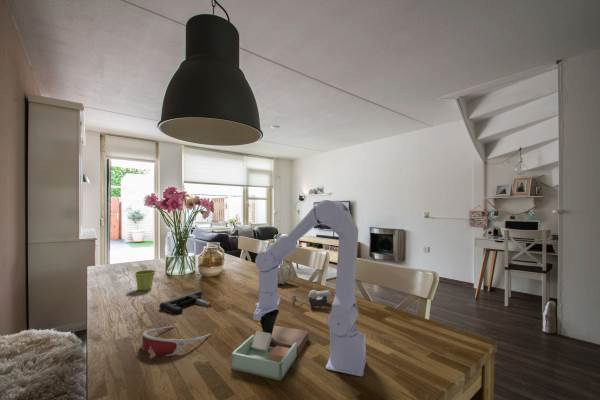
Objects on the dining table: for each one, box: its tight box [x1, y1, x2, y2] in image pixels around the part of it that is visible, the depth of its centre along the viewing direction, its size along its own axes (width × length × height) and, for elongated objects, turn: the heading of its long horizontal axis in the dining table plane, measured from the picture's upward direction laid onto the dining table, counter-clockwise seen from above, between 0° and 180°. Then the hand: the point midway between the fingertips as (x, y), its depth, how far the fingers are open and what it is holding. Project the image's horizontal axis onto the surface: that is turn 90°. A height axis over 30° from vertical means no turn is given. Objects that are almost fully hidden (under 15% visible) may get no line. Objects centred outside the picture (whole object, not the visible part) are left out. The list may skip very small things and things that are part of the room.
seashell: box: [278, 264, 296, 285], centre depth 148 cm, size 10×15×10 cm
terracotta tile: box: [270, 346, 290, 362], centre depth 73 cm, size 4×4×2 cm
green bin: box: [230, 334, 298, 382], centre depth 72 cm, size 14×11×4 cm
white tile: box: [251, 330, 272, 352], centre depth 78 cm, size 4×4×2 cm
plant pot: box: [134, 269, 157, 292], centre depth 137 cm, size 9×9×9 cm
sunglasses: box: [141, 326, 211, 357], centre depth 83 cm, size 17×17×5 cm
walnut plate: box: [260, 325, 309, 356], centre depth 83 cm, size 14×10×2 cm
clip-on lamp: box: [291, 289, 332, 310], centre depth 117 cm, size 12×6×18 cm
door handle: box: [159, 290, 212, 315], centre depth 114 cm, size 3×20×16 cm
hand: (267, 335), depth 82 cm, fingers closed
